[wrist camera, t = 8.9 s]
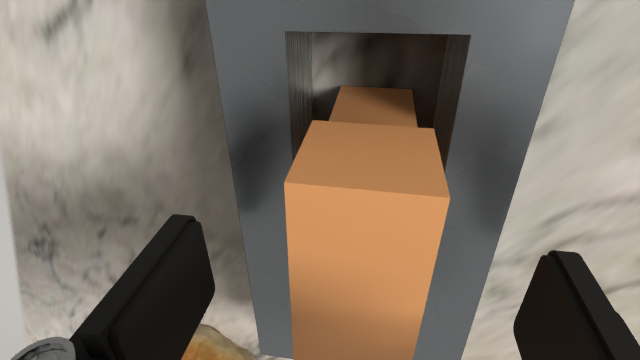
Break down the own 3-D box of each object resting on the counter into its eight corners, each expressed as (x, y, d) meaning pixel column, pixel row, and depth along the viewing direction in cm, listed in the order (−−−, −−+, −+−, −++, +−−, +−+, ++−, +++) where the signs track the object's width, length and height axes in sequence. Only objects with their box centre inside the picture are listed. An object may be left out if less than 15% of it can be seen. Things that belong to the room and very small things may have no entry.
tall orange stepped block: (334, 71, 13) (283, 182, 7) (421, 75, 13) (450, 198, 7) (330, 242, 17) (296, 407, 11) (395, 249, 17) (397, 424, 11)
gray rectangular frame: (245, -60, 12) (195, -62, 9) (538, -65, 10) (597, -70, 7) (280, 294, 20) (260, 354, 17) (443, 314, 19) (453, 382, 16)
